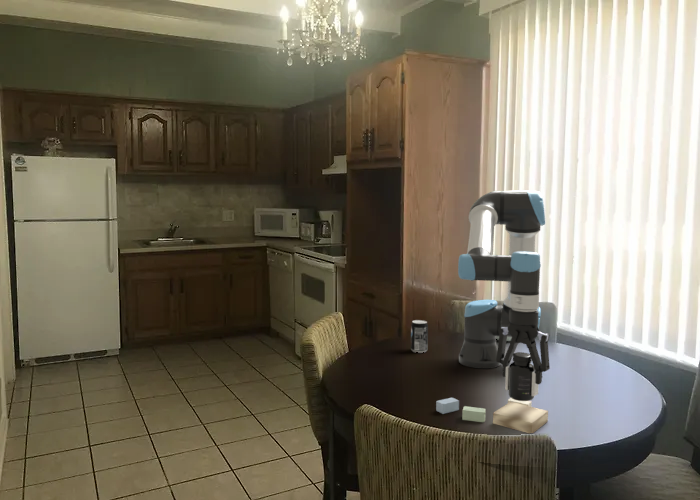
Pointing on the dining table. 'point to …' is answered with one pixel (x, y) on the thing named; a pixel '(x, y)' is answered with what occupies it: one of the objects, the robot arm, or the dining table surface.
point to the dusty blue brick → (447, 405)
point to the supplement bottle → (521, 377)
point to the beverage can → (419, 336)
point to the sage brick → (473, 414)
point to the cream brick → (521, 402)
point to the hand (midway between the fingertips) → (521, 391)
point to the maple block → (520, 417)
